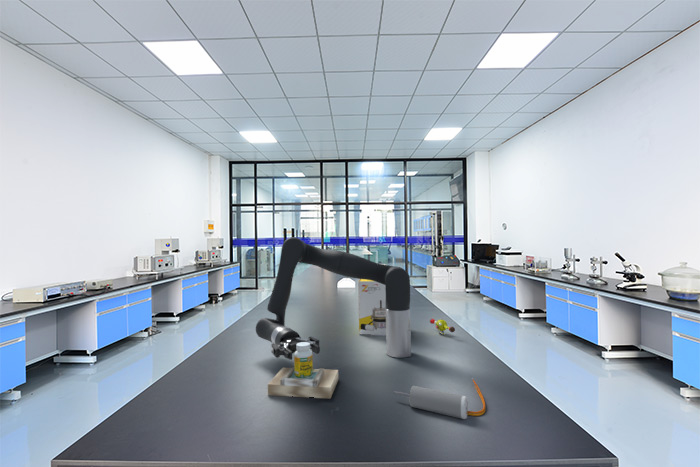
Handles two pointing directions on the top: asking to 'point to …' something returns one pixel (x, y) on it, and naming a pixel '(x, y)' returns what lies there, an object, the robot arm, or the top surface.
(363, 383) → the top surface
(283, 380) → the dock
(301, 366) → the supplement bottle
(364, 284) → the packaging box
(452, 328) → the toy figure
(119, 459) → the top surface
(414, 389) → the motor
